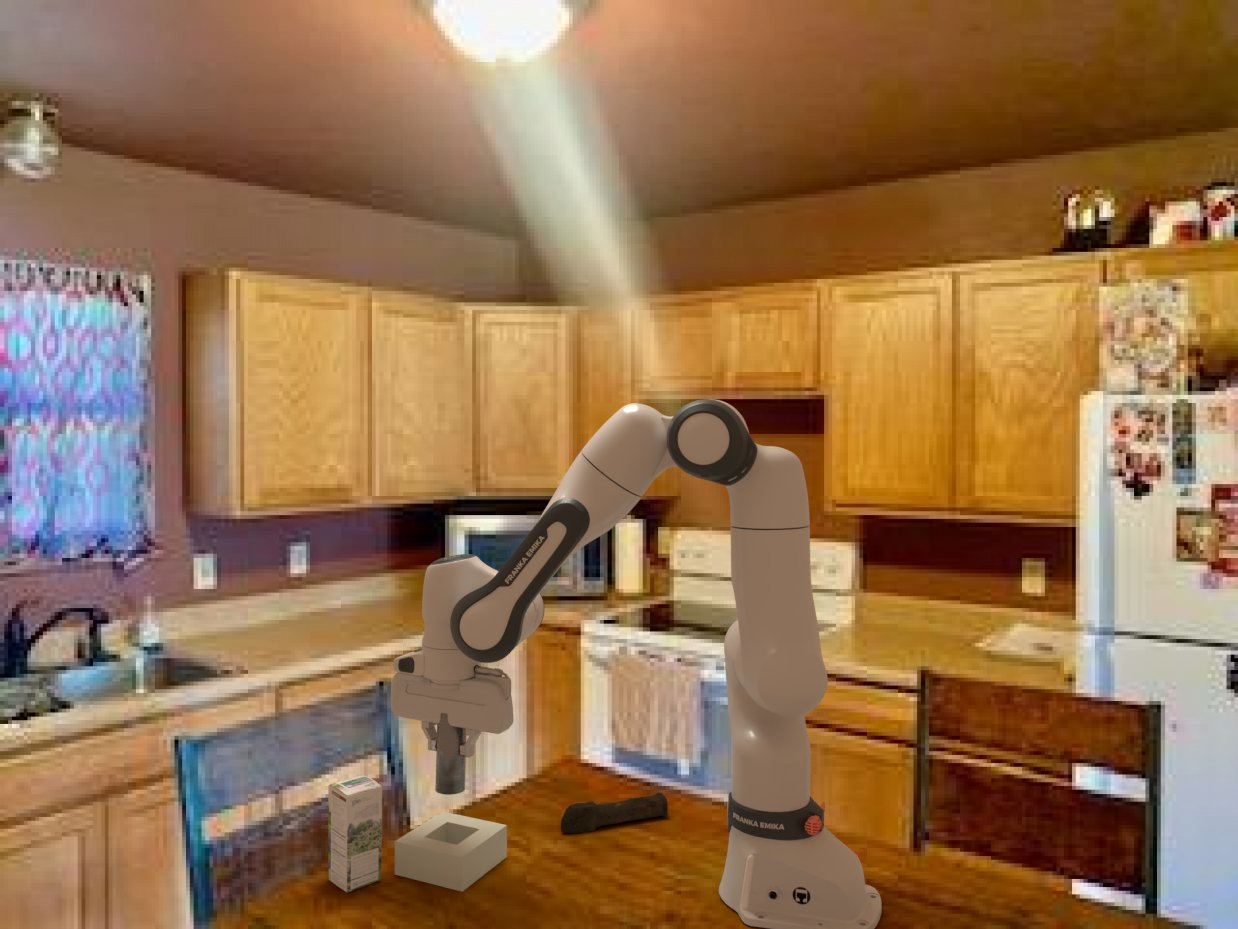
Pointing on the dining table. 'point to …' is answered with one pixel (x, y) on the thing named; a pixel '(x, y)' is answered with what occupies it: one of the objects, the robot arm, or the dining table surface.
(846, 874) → the robot arm
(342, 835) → the syrup box
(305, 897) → the dining table surface
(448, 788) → the pin
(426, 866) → the frame
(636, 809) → the hand tool
